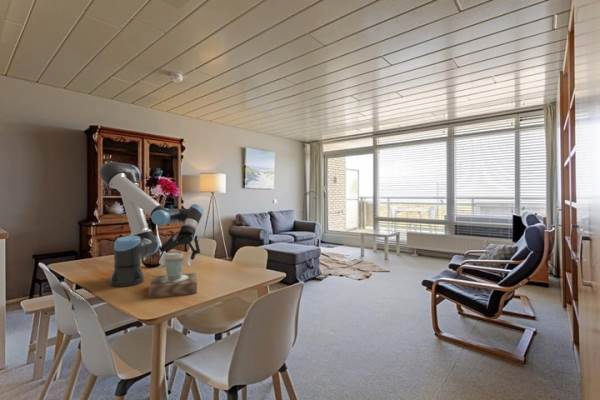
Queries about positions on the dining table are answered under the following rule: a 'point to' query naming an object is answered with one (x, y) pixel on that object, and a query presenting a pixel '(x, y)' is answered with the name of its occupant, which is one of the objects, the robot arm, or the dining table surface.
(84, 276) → the dining table surface
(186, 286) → the walnut plinth
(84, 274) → the dining table surface
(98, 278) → the dining table surface
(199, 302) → the dining table surface
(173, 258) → the coffee cup
